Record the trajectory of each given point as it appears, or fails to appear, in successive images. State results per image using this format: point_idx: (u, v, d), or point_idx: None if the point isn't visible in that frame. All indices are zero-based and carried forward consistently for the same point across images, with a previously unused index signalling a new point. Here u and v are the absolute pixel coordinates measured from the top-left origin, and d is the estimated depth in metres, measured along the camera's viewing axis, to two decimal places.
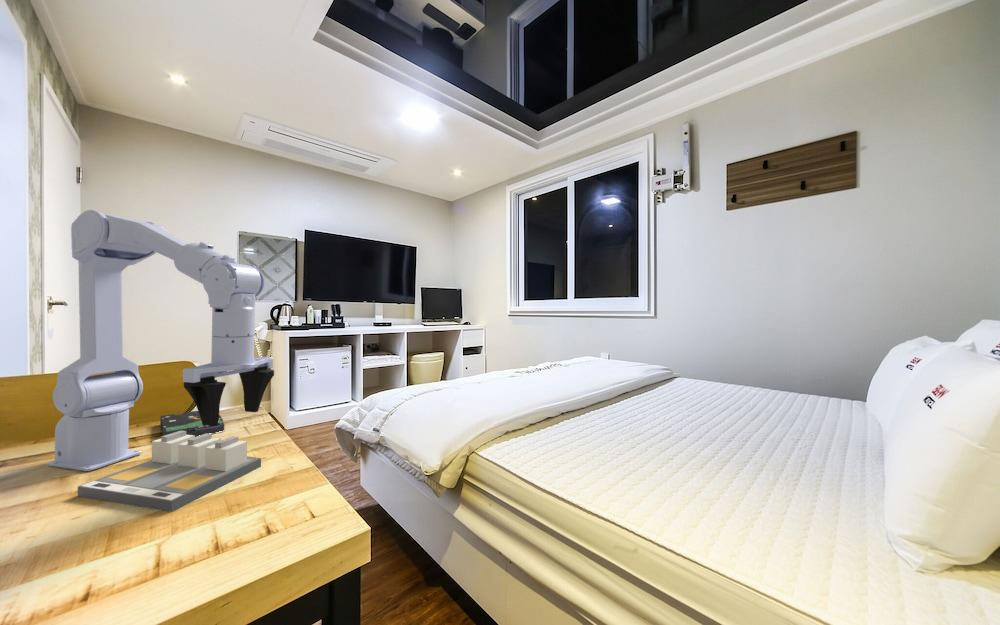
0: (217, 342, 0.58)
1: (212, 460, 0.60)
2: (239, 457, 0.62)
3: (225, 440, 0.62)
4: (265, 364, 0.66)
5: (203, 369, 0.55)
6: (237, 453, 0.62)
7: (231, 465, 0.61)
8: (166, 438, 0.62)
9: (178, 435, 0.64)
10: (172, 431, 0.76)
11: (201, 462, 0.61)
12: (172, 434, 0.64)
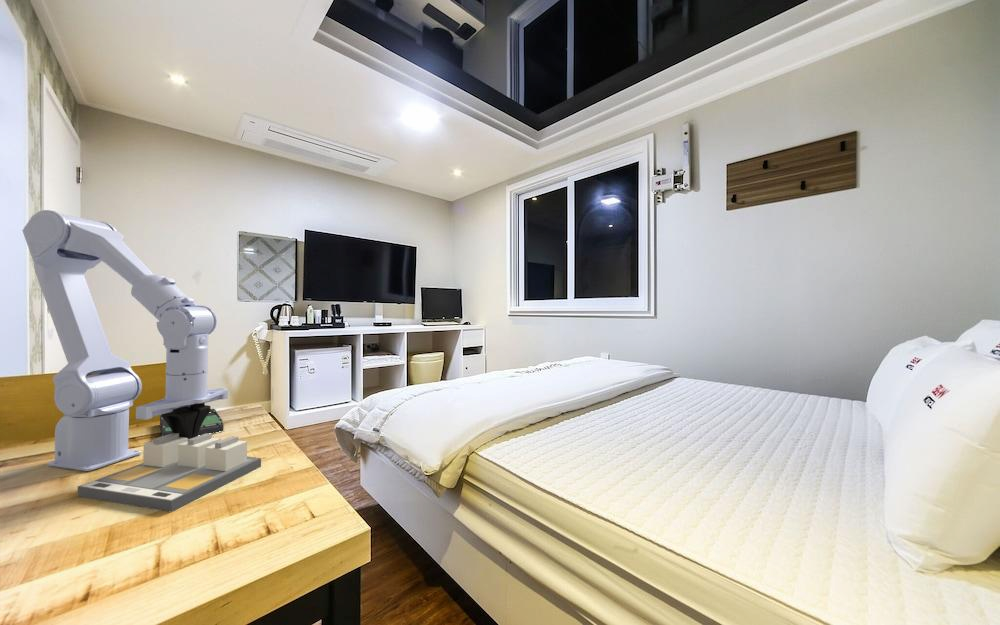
0: (170, 380, 0.63)
1: (212, 460, 0.60)
2: (239, 457, 0.62)
3: (225, 440, 0.62)
4: (220, 395, 0.72)
5: (155, 406, 0.60)
6: (237, 453, 0.62)
7: (231, 465, 0.61)
8: (158, 441, 0.61)
9: (170, 437, 0.63)
10: (171, 431, 0.76)
11: (201, 462, 0.61)
12: (164, 436, 0.63)
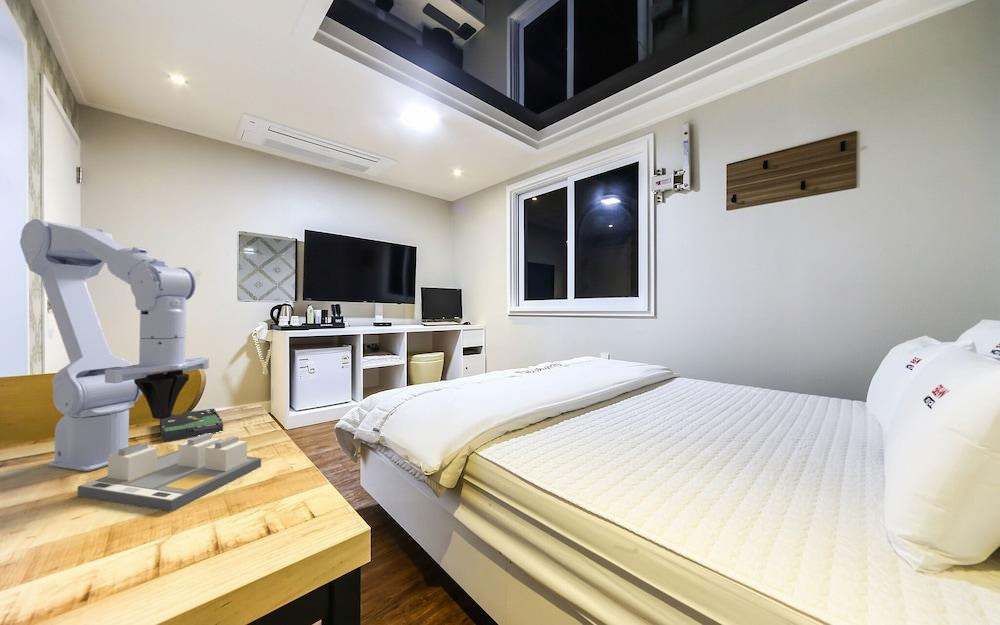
0: (144, 344, 0.59)
1: (212, 460, 0.60)
2: (239, 457, 0.62)
3: (225, 440, 0.62)
4: (200, 365, 0.68)
5: (126, 370, 0.56)
6: (237, 453, 0.62)
7: (231, 465, 0.61)
8: (124, 452, 0.57)
9: (138, 448, 0.58)
10: (171, 431, 0.76)
11: (201, 462, 0.61)
12: (131, 447, 0.58)
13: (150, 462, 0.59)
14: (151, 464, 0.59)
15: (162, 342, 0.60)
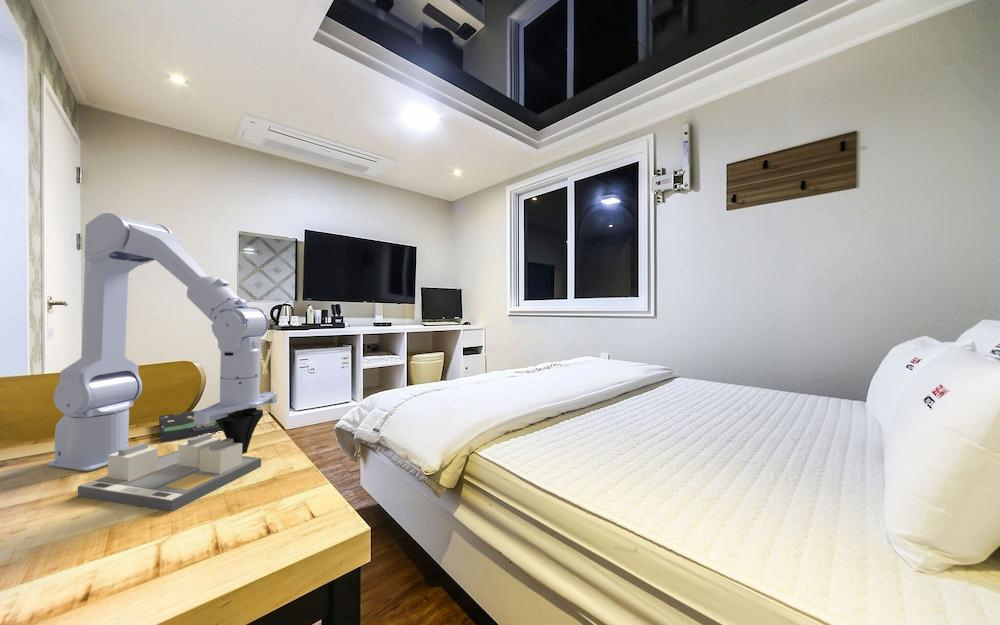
0: (225, 384, 0.61)
1: (206, 462, 0.59)
2: (234, 459, 0.61)
3: (220, 442, 0.61)
4: (269, 399, 0.70)
5: (213, 411, 0.58)
6: (232, 455, 0.61)
7: (226, 467, 0.60)
8: (124, 452, 0.57)
9: (138, 448, 0.58)
10: (170, 431, 0.76)
11: None
12: (131, 447, 0.58)
13: (150, 462, 0.59)
14: (151, 464, 0.59)
15: (242, 382, 0.62)
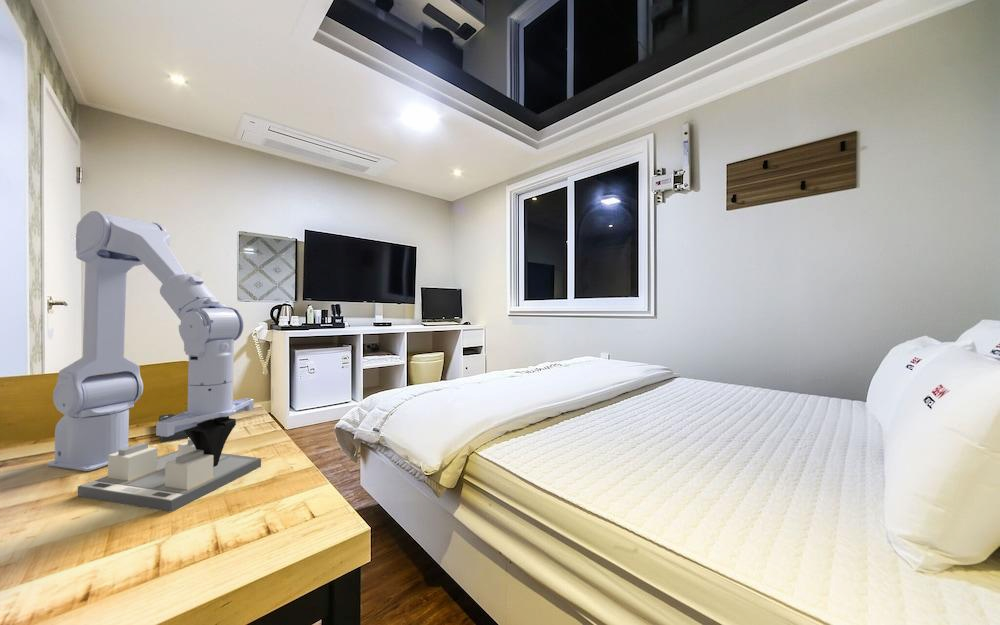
0: (193, 391, 0.56)
1: (172, 477, 0.54)
2: (204, 473, 0.56)
3: (188, 454, 0.56)
4: (245, 407, 0.65)
5: (177, 421, 0.53)
6: (201, 468, 0.56)
7: (194, 482, 0.55)
8: (124, 452, 0.57)
9: (138, 448, 0.58)
10: None
11: None
12: (131, 447, 0.58)
13: (150, 462, 0.59)
14: (151, 464, 0.59)
15: (212, 389, 0.57)
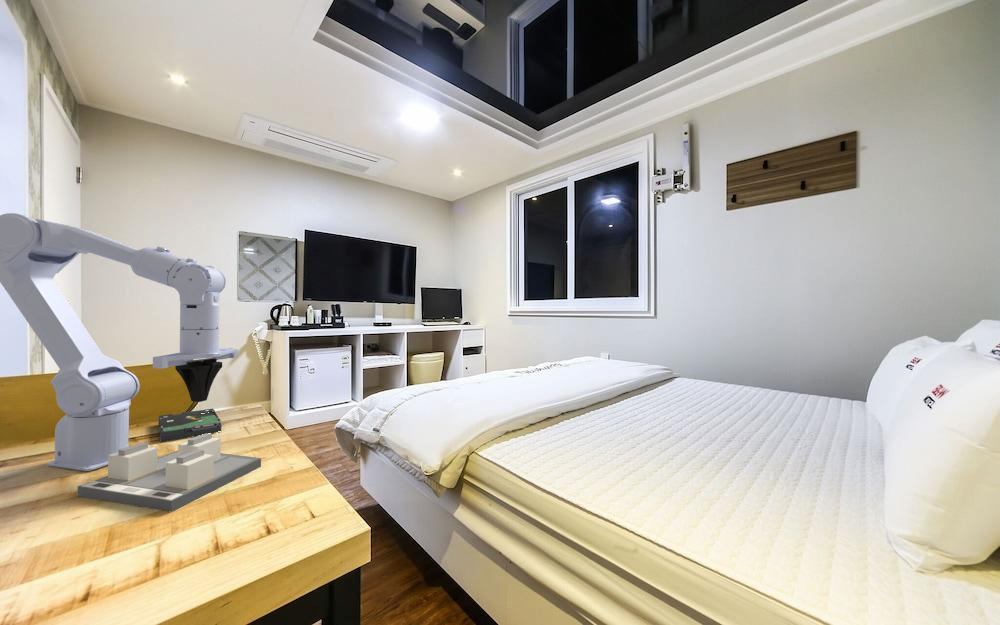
0: (184, 334, 0.66)
1: (173, 477, 0.54)
2: (204, 473, 0.56)
3: (188, 454, 0.56)
4: (231, 354, 0.75)
5: (170, 357, 0.63)
6: (202, 468, 0.56)
7: (194, 482, 0.55)
8: (124, 452, 0.57)
9: (138, 448, 0.58)
10: (169, 431, 0.76)
11: None
12: (131, 447, 0.58)
13: (150, 462, 0.59)
14: (151, 464, 0.59)
15: (200, 333, 0.67)
